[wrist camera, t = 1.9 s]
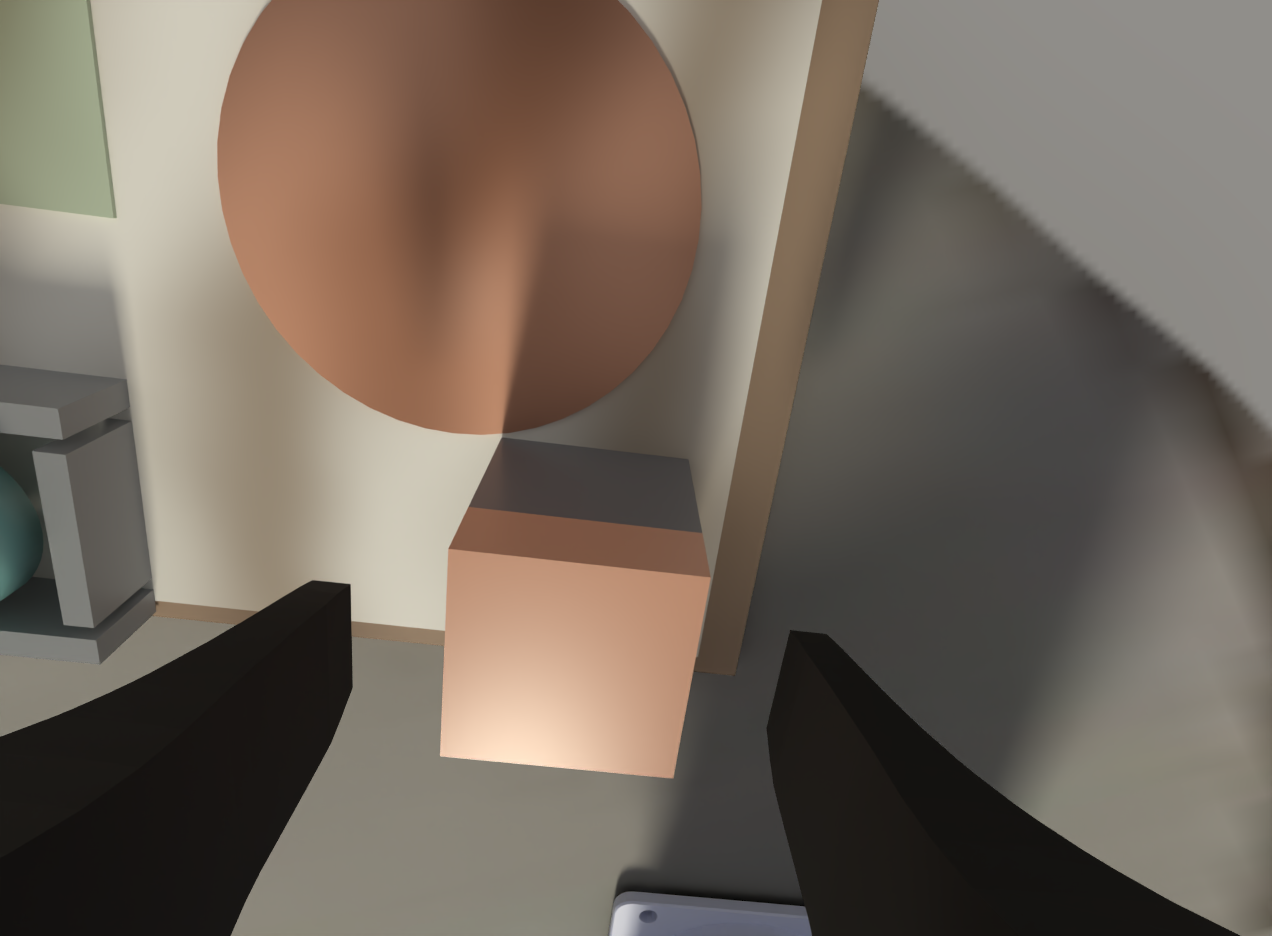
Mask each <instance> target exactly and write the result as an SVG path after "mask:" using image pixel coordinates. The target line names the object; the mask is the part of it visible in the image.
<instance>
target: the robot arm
mask: <svg viewBox="0 0 1272 936" xmlns="http://www.w3.org/2000/svg"><path fill="white" fill-rule="evenodd" d="M352 688H353V686H352V630H351V584H346V583H336V582H327V581H317V580H312V581H310V582H308V583H306V584H304V585H302V586H300V587H299V588H297V589H295V590H294V591H292V592H290V593H288V594H287V595H285V596H284V597H282V598H280V599H279V600H277V601H275V602H274V603H272V604H270V605H269V606H267V607H265V608H264V609H262V610H261V611H259V612H257V613H256V614H254V615H252V616H251V617H249V618H247V619H246V620H244V621H242V622H241V623H239V624H237V625H236V626H234V627H232V628H231V629H229V630H227V631H225V632H224V633H222V634H220V635H219V636H217V637H215V638H214V639H212V640H210V641H208V642H207V643H205V644H203V645H201V646H199V647H197V648H196V649H194V650H192V651H190V652H188V653H186V654H184V655H183V656H181V657H179V658H177V659H175V660H173V661H171V662H170V663H168V664H166V665H164V666H162V667H160V668H159V669H157V670H155V671H153V672H151V673H149V674H147V675H145V676H143V677H141V678H139V679H137V680H135V681H133V682H131V683H129V684H127V685H125V686H123V687H121V688H119V689H116V690H114V691H112V692H110V693H108V694H106V695H103V696H101V697H99V698H97V699H94V700H92V701H90V702H87V703H85V704H83V705H81V706H78V707H76V708H74V709H72V710H69V711H67V712H64V713H62V714H60V715H57V716H55V717H52V718H49V719H47V720H44V721H41V722H39V723H36V724H33V725H31V726H28V727H25V728H23V729H20V730H17V731H15V732H12V733H9V734H7V735H4V736H2V737H0V936H231V934H232V931H233V929H234V927H235V924H236V922H237V920H238V917H239V915H240V913H241V910H242V908H243V906H244V904H245V901H246V899H247V897H248V895H249V893H250V891H251V889H252V887H253V885H254V883H255V881H256V879H257V877H258V875H259V873H260V871H261V870H262V868H263V866H264V864H265V862H266V861H267V859H268V857H269V855H270V853H271V852H272V850H273V848H274V846H275V844H276V843H277V841H278V839H279V837H280V835H281V834H282V832H283V830H284V828H285V826H286V825H287V823H288V821H289V819H290V817H291V815H292V814H293V812H294V810H295V808H296V806H297V805H298V803H299V801H300V799H301V797H302V796H303V794H304V792H305V790H306V788H307V787H308V785H309V783H310V781H311V779H312V777H313V776H314V774H315V772H316V770H317V768H318V766H319V765H320V763H321V761H322V759H323V757H324V755H325V753H326V752H327V750H328V748H329V746H330V744H331V742H332V739H333V737H334V734H335V732H336V729H337V727H338V724H339V722H340V720H341V717H342V714H343V712H344V709H345V706H346V704H347V701H348V698H349V696H350V693H351V690H352ZM767 736H768V745H769V754H770V762H771V769H772V777H773V784H774V789H775V793H776V797H777V801H778V805H779V809H780V813H781V816H782V820H783V824H784V828H785V832H786V836H787V840H788V843H789V847H790V851H791V855H792V859H793V862H794V866H795V870H796V874H797V877H798V881H799V885H800V889H801V893H802V896H803V900H804V904H805V906H795V905H783V904H772V903H760V902H749V901H737V900H726V899H715V898H703V897H692V896H680V895H669V894H658V893H646V892H635V891H630V892H624V893H622V894H620V895H619V896H617V897H616V898H615V901H614V904H613V910H612V916H611V922H610V928H609V934H608V936H1240V935H1238V934H1236V933H1234V932H1232V931H1230V930H1228V929H1226V928H1224V927H1222V926H1220V925H1218V924H1216V923H1214V922H1212V921H1210V920H1208V919H1206V918H1204V917H1202V916H1200V915H1198V914H1196V913H1194V912H1191V911H1189V910H1187V909H1185V908H1183V907H1181V906H1179V905H1177V904H1176V903H1174V902H1172V901H1170V900H1168V899H1166V898H1164V897H1163V896H1161V895H1159V894H1157V893H1156V892H1154V891H1152V890H1150V889H1148V888H1147V887H1145V886H1143V885H1141V884H1140V883H1138V882H1136V881H1134V880H1132V879H1131V878H1129V877H1127V876H1125V875H1124V874H1122V873H1120V872H1118V871H1117V870H1115V869H1113V868H1112V867H1110V866H1108V865H1107V864H1105V863H1103V862H1102V861H1100V860H1098V859H1097V858H1095V857H1093V856H1092V855H1090V854H1088V853H1087V852H1085V851H1084V850H1082V849H1080V848H1079V847H1077V846H1076V845H1074V844H1073V843H1071V842H1070V841H1068V840H1067V839H1065V838H1064V837H1062V836H1061V835H1059V834H1057V833H1056V832H1054V831H1053V830H1051V829H1050V828H1048V827H1047V826H1045V825H1044V824H1042V823H1041V822H1039V821H1038V820H1036V819H1035V818H1033V817H1032V816H1031V815H1029V814H1028V813H1026V812H1025V811H1023V810H1022V809H1021V808H1019V807H1018V806H1016V805H1015V804H1014V803H1012V802H1011V801H1010V800H1008V799H1007V798H1006V797H1004V796H1003V795H1002V794H1000V793H999V792H998V791H997V790H995V789H994V788H993V787H991V786H990V785H989V784H987V783H986V782H985V781H983V780H982V779H981V778H979V777H978V776H977V775H976V774H974V773H973V772H972V771H971V770H969V769H968V768H967V767H966V766H964V765H963V764H962V763H961V762H960V761H958V760H957V759H956V758H955V757H954V756H953V755H951V754H950V753H949V752H948V751H947V750H946V749H945V748H944V747H942V746H941V745H940V744H939V743H938V742H937V741H936V740H934V739H933V738H932V737H931V736H930V735H929V734H928V733H926V732H925V731H924V730H923V729H922V728H921V727H920V726H919V725H918V724H917V723H916V722H915V721H914V720H912V719H911V718H910V717H909V716H908V715H907V714H906V713H905V712H904V711H903V710H902V709H901V708H900V707H899V706H898V705H897V704H896V703H895V702H894V701H893V700H892V699H891V698H890V697H889V696H888V695H887V694H886V693H885V692H884V691H883V690H882V689H881V688H880V687H879V686H878V685H877V684H876V683H875V682H874V681H873V680H872V679H871V678H870V677H869V676H868V675H867V674H866V673H865V672H864V671H863V670H862V669H861V668H860V667H859V666H858V665H857V664H856V663H855V662H854V661H853V660H852V659H851V658H850V657H849V656H848V655H847V654H846V653H845V652H844V650H843V649H842V648H841V647H840V646H839V645H837V644H836V643H835V642H834V641H833V640H832V639H831V638H830V637H829V636H828V635H827V634H820V633H811V632H801V631H792V630H790V634H789V638H788V642H787V646H786V650H785V654H784V658H783V662H782V667H781V671H780V675H779V679H778V683H777V687H776V691H775V696H774V700H773V704H772V708H771V712H770V716H769V720H768V725H767Z"/></svg>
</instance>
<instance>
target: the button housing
mask: <svg viewBox="0 0 1272 936" xmlns="http://www.w3.org/2000/svg"><path fill="white" fill-rule="evenodd" d="M128 408H130V401H129V394H128V386H127V379H118V378H110V377H101V376H93V375H85V374H76V373H68V372H59V371H51V370H42V369H34V368H25V367H17V366H8V365H0V433H7V434H16V435H25V436H34V437H43V438H51V439H57V440H54V441H52V442H50V443H48V444H46V445H44V446H42V447H40V448H38V449H36V450H33V451H32V454H33V459H34V465H35V470H36V476H37V481H38V487H39V492H40V498H41V503H42V509H43V514H44V520H45V525H46V531H47V536H48V542H49V547H50V553H51V558H52V564H53V569H54V575H55V579H49V578H39V577H31V578H30V579H29V580H28V582H27V583H26V584H24V585H23V586H21V587H20V588H19V589H17V590H16V591H14V592H13V593H12V594H10V595H9V596H7V597H6V598H4V599H3V600H1V601H0V655H9V656H19V657H29V658H39V659H49V660H59V661H69V662H80V663H90V664H101V663H102V662H103V661H104V660H105V659H107V658H108V657H109V656H110V655H111V654H112V653H113V652H114V651H115V650H116V649H117V648H118V647H119V646H120V645H121V644H122V643H124V642H125V641H126V640H127V639H128V638H129V637H130V636H131V635H132V634H133V633H134V632H135V631H136V630H137V629H138V628H139V627H141V626H142V625H143V624H144V623H145V622H146V621H147V620H148V619H149V618H150V617H151V616H152V615H153V614H154V613H155V612H156V605H155V597H154V590H153V589H144V588H141V587H142V586H143V585H145V584H146V583H147V582H148V581H149V580H150V579H152V574H151V566H150V558H149V550H148V543H147V535H146V527H145V519H144V511H143V503H142V496H141V488H140V480H139V472H138V464H137V456H136V448H135V441H134V433H133V425H132V421H129V420H120V419H111V418H109V417H111V416H113V415H115V414H117V413H119V412H122V411H124V410H126V409H128Z"/></svg>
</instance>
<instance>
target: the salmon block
mask: <svg viewBox="0 0 1272 936" xmlns="http://www.w3.org/2000/svg"><path fill="white" fill-rule="evenodd" d="M710 579H711V576H710V571H709V565H708V560H707V555H706V549H705V544H704V539H703V534H702V528H701V523H700V518H699V512H698V507H697V502H696V497H695V491H694V486H693V481H692V475H691V470H690V465H689V460H688V459H682V458H674V457H665V456H657V455H648V454H640V453H631V452H623V451H614V450H606V449H597V448H589V447H580V446H572V445H563V444H554V443H546V442H537V441H529V440H520V439H512V438H503V437H502V438H501V440H500V442H499V444H498V446H497V448H496V450H495V452H494V454H493V456H492V459H491V461H490V463H489V465H488V467H487V469H486V471H485V473H484V475H483V477H482V479H481V482H480V484H479V486H478V488H477V490H476V492H475V494H474V496H473V498H472V500H471V502H470V504H469V507H468V509H467V511H466V513H465V515H464V517H463V519H462V521H461V523H460V525H459V527H458V530H457V532H456V534H455V536H454V538H453V540H452V542H451V544H450V546H449V548H448V568H447V594H446V620H445V645H444V671H443V697H442V722H441V748H440V756H443V757H453V758H464V759H474V760H485V761H495V762H506V763H516V764H527V765H537V766H548V767H558V768H569V769H579V770H589V771H600V772H610V773H621V774H631V775H642V776H652V777H663V778H673V776H674V771H675V766H676V760H677V755H678V750H679V745H680V739H681V734H682V729H683V723H684V718H685V713H686V707H687V702H688V697H689V691H690V686H691V681H692V675H693V670H694V665H695V659H696V654H697V649H698V643H699V638H700V633H701V627H702V622H703V617H704V611H705V606H706V601H707V595H708V590H709V585H710Z"/></svg>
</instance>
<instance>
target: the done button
mask: <svg viewBox="0 0 1272 936" xmlns="http://www.w3.org/2000/svg"><path fill="white" fill-rule="evenodd" d="M42 553H43V533H42V528H41V524H40V520H39V518H38V515H37V513H36V510H35V508H34V506H33V504H32V503H31V501H30V499H29V497H28V496H27V495H26V493H25V492H24V490H23V489H22V488H21V487H20V485H19V484H18V483H17V482H16V481H15V480H14V479H13V477H11V476H10V475H9V474H8V473H7V472H6V471H5V470H4V469H3V468H2V467H0V601H1V600H3V599H4V598H6V597H7V596H9V595H10V594H12V593H13V592H14V591H16V590H17V589H19V588H20V587H21V586H23V585H24V584H26V583H27V582H28V580H29V579H30V578H31V577H32V576H33V575H34V573H35V572H36V570H37V568H38V566H39V564H40V561H41V557H42Z"/></svg>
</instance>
